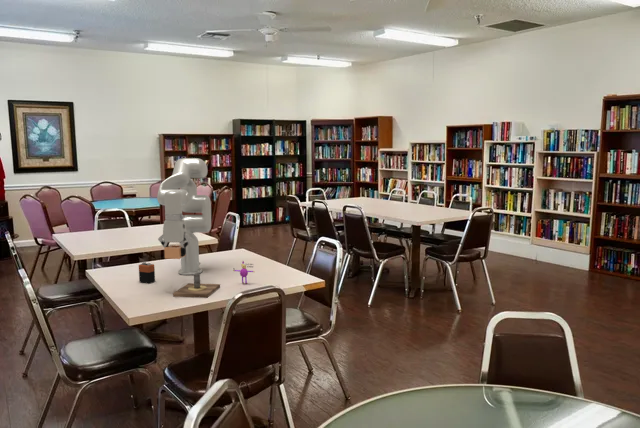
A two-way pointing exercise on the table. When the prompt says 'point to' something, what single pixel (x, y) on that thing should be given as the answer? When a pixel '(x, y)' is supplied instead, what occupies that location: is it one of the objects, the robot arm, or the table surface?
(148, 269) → the battery
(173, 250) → the tan square box
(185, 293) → the post base
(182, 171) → the robot arm
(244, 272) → the wizard figurine
